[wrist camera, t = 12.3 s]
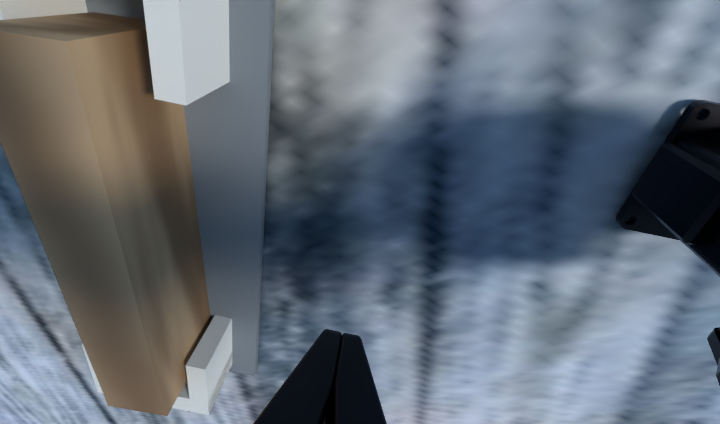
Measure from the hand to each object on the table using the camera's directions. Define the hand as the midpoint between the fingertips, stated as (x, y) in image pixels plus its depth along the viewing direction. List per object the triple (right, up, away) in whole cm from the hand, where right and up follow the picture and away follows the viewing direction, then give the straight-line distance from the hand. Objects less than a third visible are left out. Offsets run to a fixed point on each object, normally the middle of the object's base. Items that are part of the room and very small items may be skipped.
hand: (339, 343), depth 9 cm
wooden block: (-11, +3, +13) cm, 17 cm away
